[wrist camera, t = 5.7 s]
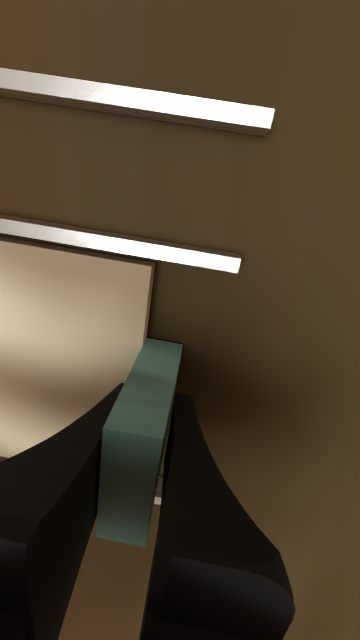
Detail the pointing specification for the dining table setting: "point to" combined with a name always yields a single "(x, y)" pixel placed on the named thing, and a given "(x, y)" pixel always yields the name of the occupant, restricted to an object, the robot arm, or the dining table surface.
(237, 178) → the dining table surface
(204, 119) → the lane rails
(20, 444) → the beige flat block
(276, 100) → the dining table surface
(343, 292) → the dining table surface
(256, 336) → the dining table surface
